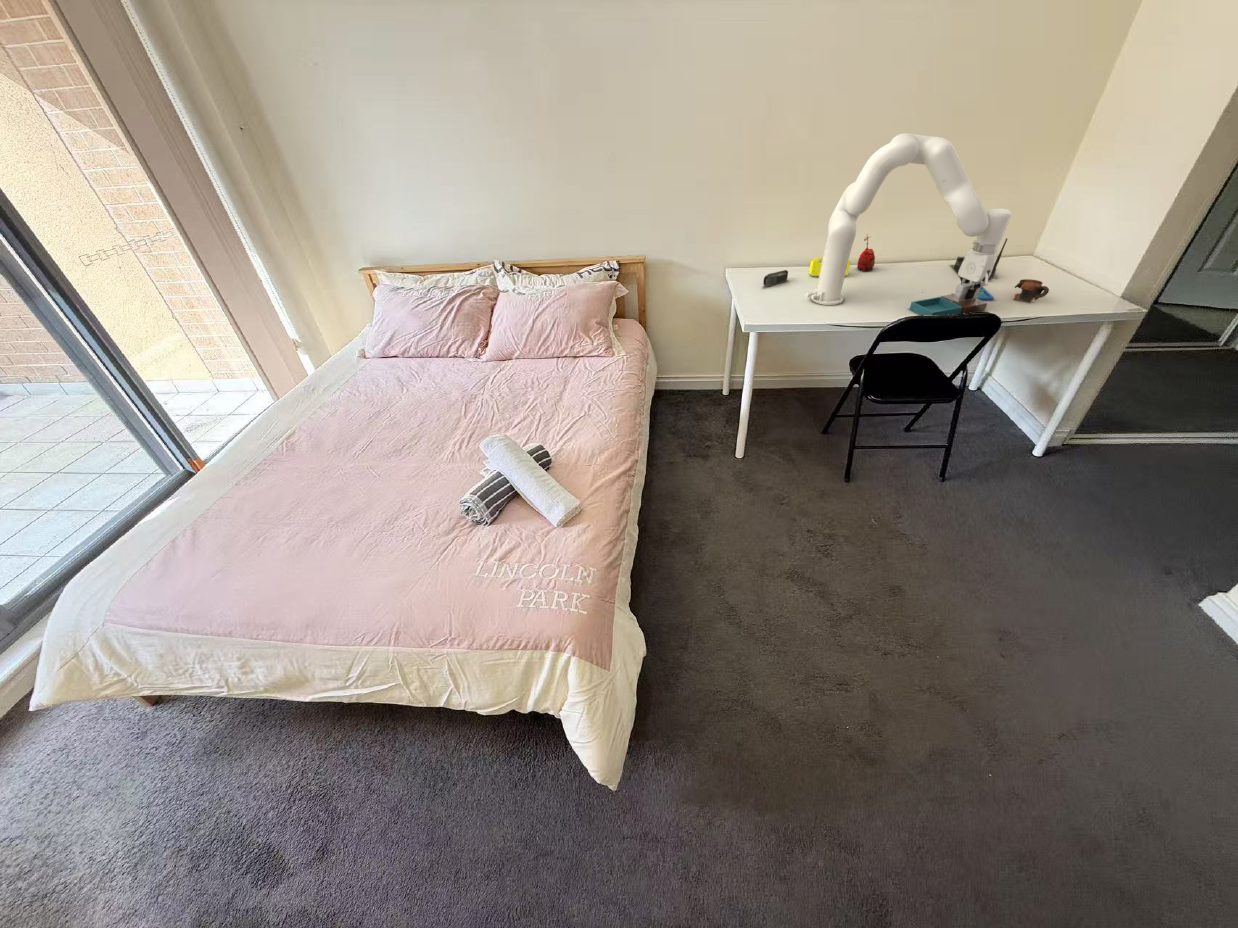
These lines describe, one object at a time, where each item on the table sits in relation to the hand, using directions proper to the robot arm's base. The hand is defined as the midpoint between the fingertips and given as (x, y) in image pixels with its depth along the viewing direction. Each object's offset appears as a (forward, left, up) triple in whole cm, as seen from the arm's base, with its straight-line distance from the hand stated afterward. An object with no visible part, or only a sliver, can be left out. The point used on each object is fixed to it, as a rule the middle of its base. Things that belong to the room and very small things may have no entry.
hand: (965, 296), depth 188 cm
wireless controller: (+32, +27, -4) cm, 42 cm away
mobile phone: (-53, +50, -4) cm, 73 cm away
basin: (-12, 0, -4) cm, 13 cm away
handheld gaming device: (+15, +9, -4) cm, 18 cm away
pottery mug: (+28, -3, -4) cm, 28 cm away
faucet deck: (0, 0, -4) cm, 4 cm away
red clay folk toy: (-7, +50, -4) cm, 51 cm away
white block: (0, 0, -1) cm, 1 cm away
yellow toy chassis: (-26, +50, -4) cm, 57 cm away
